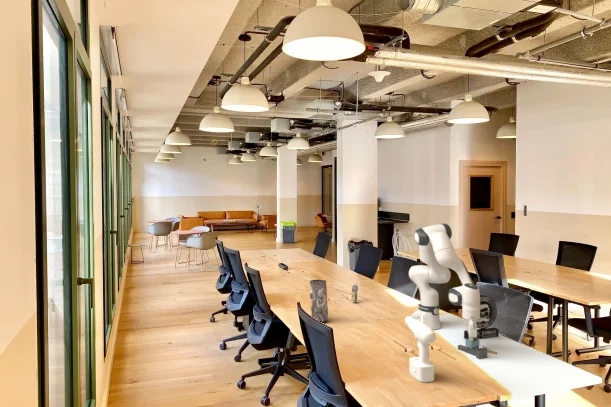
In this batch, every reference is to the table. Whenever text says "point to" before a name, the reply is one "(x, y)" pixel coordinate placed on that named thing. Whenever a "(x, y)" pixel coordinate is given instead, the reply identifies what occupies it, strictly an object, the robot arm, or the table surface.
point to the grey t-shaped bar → (475, 351)
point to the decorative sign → (485, 319)
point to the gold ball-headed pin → (491, 352)
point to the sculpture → (319, 300)
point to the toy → (354, 292)
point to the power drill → (421, 351)
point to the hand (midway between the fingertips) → (470, 340)
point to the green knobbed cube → (472, 343)
